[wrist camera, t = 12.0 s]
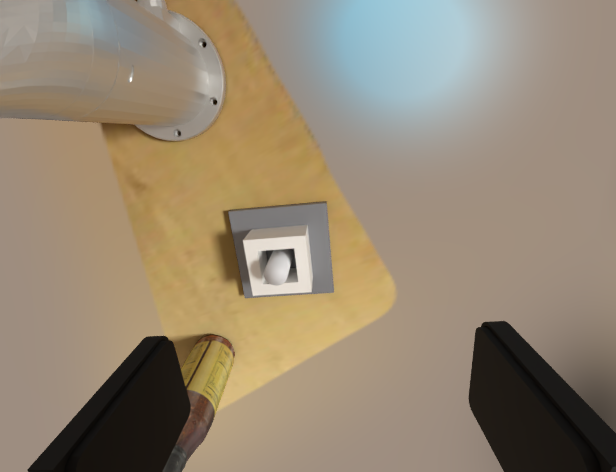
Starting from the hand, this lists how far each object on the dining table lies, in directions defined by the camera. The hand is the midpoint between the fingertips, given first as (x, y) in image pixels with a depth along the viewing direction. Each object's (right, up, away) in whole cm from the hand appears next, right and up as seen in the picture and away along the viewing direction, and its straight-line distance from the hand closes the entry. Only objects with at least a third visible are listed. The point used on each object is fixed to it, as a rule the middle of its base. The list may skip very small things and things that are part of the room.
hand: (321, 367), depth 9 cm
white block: (-4, +2, +28) cm, 29 cm away
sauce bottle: (-14, -13, +35) cm, 40 cm away
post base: (-3, +2, +29) cm, 30 cm away
